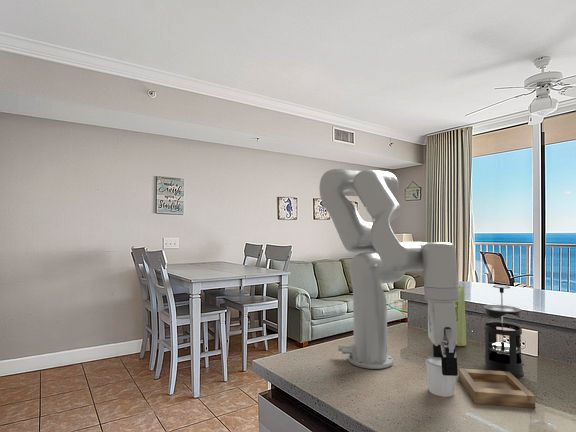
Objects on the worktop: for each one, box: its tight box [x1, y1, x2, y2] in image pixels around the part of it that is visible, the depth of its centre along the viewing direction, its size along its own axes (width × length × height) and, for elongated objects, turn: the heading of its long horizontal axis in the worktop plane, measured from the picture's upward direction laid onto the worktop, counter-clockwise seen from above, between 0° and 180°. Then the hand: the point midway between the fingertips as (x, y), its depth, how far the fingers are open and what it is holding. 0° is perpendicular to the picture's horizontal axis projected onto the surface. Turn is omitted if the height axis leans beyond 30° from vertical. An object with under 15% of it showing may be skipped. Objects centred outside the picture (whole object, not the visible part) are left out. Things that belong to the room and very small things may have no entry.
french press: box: [483, 284, 525, 379], centre depth 102 cm, size 12×9×23 cm
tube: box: [454, 285, 467, 347], centre depth 124 cm, size 6×5×20 cm
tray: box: [458, 368, 536, 409], centre depth 88 cm, size 12×14×2 cm
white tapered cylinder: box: [425, 356, 457, 398], centre depth 88 cm, size 7×7×7 cm
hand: (445, 367), depth 87 cm, fingers open, 9 cm apart
